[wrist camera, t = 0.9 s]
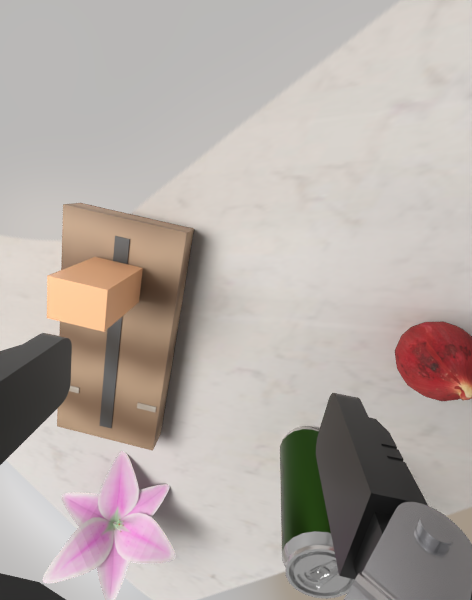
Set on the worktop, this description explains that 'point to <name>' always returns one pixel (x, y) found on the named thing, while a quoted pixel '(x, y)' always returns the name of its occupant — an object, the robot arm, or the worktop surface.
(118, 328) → the fader base
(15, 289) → the worktop surface
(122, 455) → the lily
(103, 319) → the fader knob
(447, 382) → the onion
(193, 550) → the worktop surface
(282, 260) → the worktop surface
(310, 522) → the green soda can
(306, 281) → the worktop surface
